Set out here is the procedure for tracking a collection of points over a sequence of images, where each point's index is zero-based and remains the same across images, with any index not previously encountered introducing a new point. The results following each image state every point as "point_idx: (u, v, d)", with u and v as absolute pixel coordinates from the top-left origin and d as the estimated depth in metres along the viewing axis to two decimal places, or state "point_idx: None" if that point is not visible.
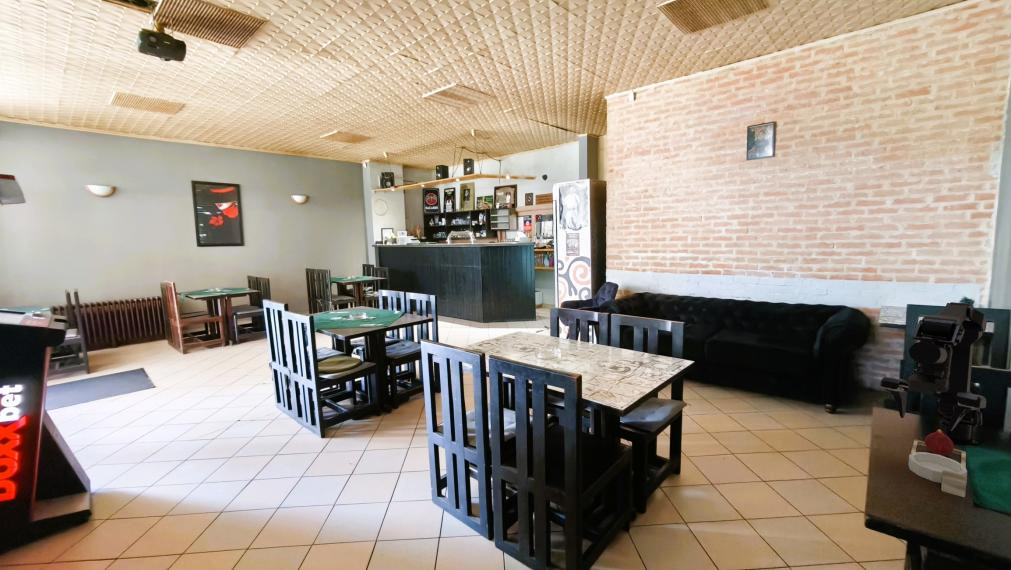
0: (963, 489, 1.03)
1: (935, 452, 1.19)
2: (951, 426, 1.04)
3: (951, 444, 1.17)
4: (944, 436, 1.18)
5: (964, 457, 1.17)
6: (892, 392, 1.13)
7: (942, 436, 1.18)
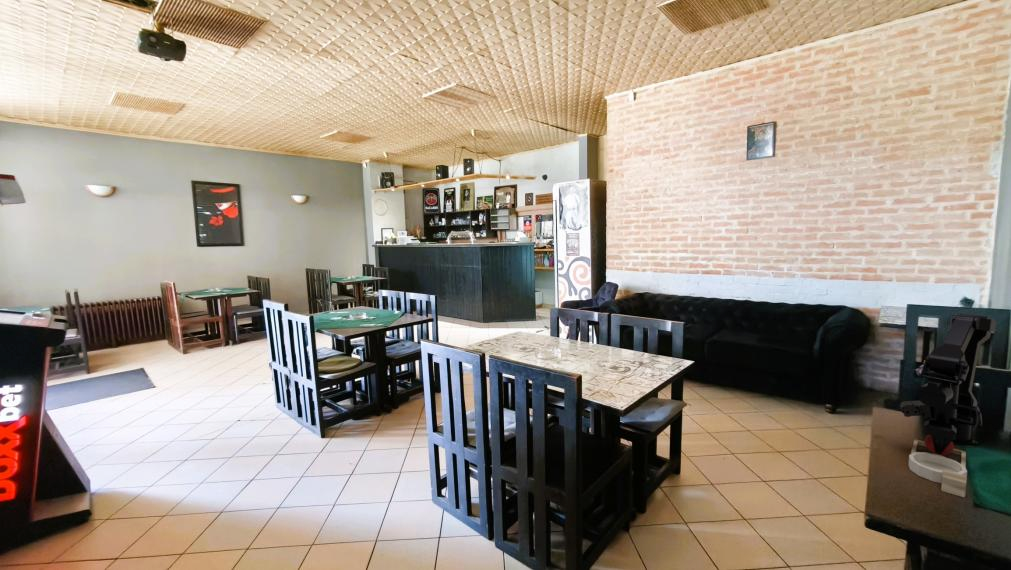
0: (963, 489, 1.03)
1: (935, 452, 1.19)
2: (935, 449, 1.18)
3: (951, 444, 1.17)
4: None
5: (964, 457, 1.17)
6: (928, 419, 1.24)
7: None
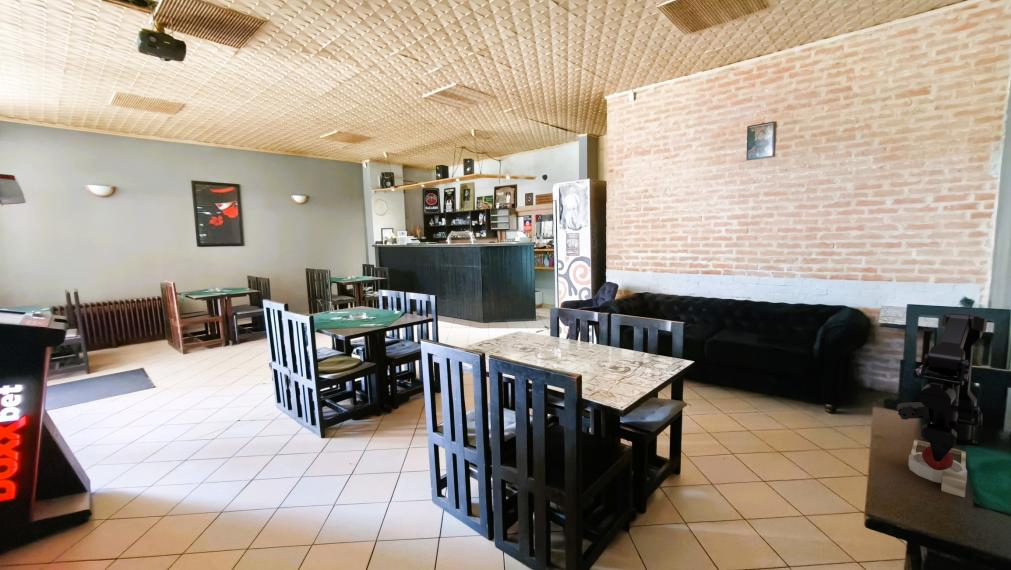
0: (963, 489, 1.03)
1: (933, 467, 1.11)
2: (934, 456, 1.09)
3: (950, 458, 1.09)
4: None
5: (964, 457, 1.17)
6: None
7: None
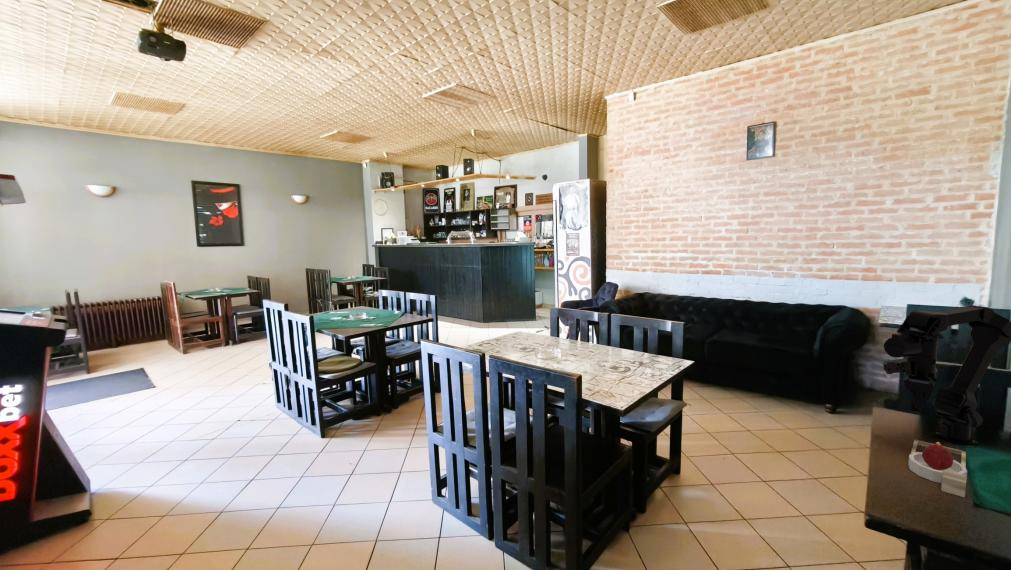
0: (963, 489, 1.03)
1: (934, 466, 1.11)
2: (915, 405, 1.22)
3: (951, 458, 1.09)
4: (943, 449, 1.10)
5: (964, 457, 1.17)
6: (910, 376, 1.30)
7: (941, 449, 1.10)
